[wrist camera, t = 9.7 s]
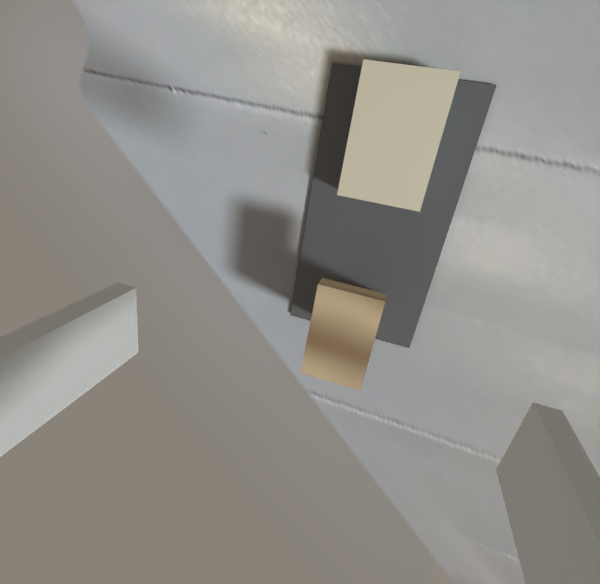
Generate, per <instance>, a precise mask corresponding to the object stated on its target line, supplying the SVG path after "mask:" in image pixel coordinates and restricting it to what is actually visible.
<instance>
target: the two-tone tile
mask: <svg viewBox="0 0 600 584" xmlns="http://www.w3.org/2000/svg"><path fill="white" fill-rule="evenodd" d="M459 76H460V71H452V70H444V69H436V68H428V67H421V66H413V65H405V64H397V63H389V62H381V61H373V60H366V59H363V64H362V69H361V74H360V79H359V84H358V89H357V94H356V100H355V105H354V110H353V115H352V120H351V125H350V130H349V136H348V141H347V146H346V151H345V156H344V161H343V167H342V172H341V177H340V182H339V187H338V192H337V195H339V196H344V197H349V198H354V199H359V200H364V201H369V202H374V203H379V204H384V205H389V206H394V207H398V208H403V209H408V210H413V211H418V212H420V210H421V206H422V203H423V199H424V196H425V193H426V189H427V186H428V182H429V179H430V175H431V172H432V168H433V165H434V162H435V158H436V155H437V151H438V148H439V144H440V141H441V138H442V134H443V131H444V127H445V124H446V120H447V117H448V114H449V110H450V107H451V103H452V100H453V96H454V93H455V89H456V86H457V83H458V79H459Z"/></svg>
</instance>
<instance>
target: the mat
mask: <svg viewBox="0 0 600 584" xmlns="http://www.w3.org/2000/svg"><path fill="white" fill-rule="evenodd" d="M361 69H362V67H359V66H352V65H344V64H337V63H332V68H331V74H330V80H329V86H328V92H327V98H326V104H325V110H324V116H323V122H322V128H321V134H320V140H319V146H318V152H317V158H316V164H315V170H314V176H313V182H312V188H311V194H310V200H309V206H308V212H307V218H306V224H305V230H304V236H303V242H302V248H301V254H300V260H299V266H298V272H297V278H296V284H295V290H294V296H293V302H292V308H291V314H290V315H292V316H296V317H299V318H303V319H307V320H310V321H311V317H312V312H313V307H314V301H315V296H316V291H317V286H318V283H319V282H320V280H321V279H322V278H325V279H329V280H333V281H337V282H341V283H345V284H349V285H353V286H357V287H361V288H365V289H369V290H373V291H377V292H381V293H385V294H387V295H386V301H385V305H384V308H383V312H382V315H381V319H380V323H379V326H378V330H377V333H376V337H375V339H379V340H382V341H386V342H389V343H393V344H397V345H400V346H404V347H407V348H409V347H410V344H411V341H412V338H413V335H414V332H415V329H416V326H417V323H418V320H419V317H420V314H421V311H422V308H423V305H424V302H425V299H426V296H427V293H428V290H429V287H430V284H431V281H432V278H433V275H434V272H435V269H436V266H437V263H438V260H439V257H440V254H441V250H442V247H443V244H444V241H445V238H446V235H447V232H448V229H449V226H450V223H451V220H452V217H453V214H454V211H455V208H456V205H457V202H458V199H459V196H460V193H461V190H462V187H463V184H464V181H465V178H466V175H467V172H468V169H469V166H470V163H471V160H472V157H473V154H474V151H475V148H476V145H477V142H478V139H479V136H480V133H481V130H482V127H483V124H484V121H485V118H486V115H487V112H488V109H489V106H490V103H491V100H492V97H493V94H494V91H495V88H496V85H494V84H486V83H479V82H471V81H464V80H458V83H457V86H456V89H455V93H454V96H453V100H452V103H451V107H450V110H449V114H448V117H447V120H446V124H445V127H444V131H443V134H442V138H441V141H440V144H439V148H438V151H437V155H436V158H435V162H434V165H433V168H432V172H431V175H430V179H429V182H428V186H427V189H426V193H425V196H424V199H423V203H422V206H421V210H420V212H418V211H413V210H408V209H403V208H398V207H394V206H389V205H384V204H379V203H374V202H369V201H364V200H359V199H354V198H349V197H344V196H339V195H337V192H338V187H339V182H340V177H341V172H342V167H343V161H344V156H345V151H346V146H347V141H348V136H349V130H350V125H351V120H352V115H353V110H354V105H355V100H356V94H357V89H358V84H359V79H360V74H361Z"/></svg>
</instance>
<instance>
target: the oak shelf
mask: <svg viewBox="0 0 600 584" xmlns="http://www.w3.org/2000/svg"><path fill="white" fill-rule="evenodd" d="M386 295H387V294H385V293H381V292H377V291H373V290H369V289H365V288H361V287H357V286H353V285H349V284H345V283H341V282H337V281H333V280H329V279H325V278H322V279H321V280H320V282H319V283H318V286H317V291H316V296H315V301H314V307H313V312H312V317H311V322H310V327H309V332H308V337H307V343H306V348H305V353H304V358H303V363H302V368H301V373H304V374H307V375H310V376H314V377H317V378H320V379H323V380H327V381H330V382H333V383H336V384H340V385H343V386H346V387H349V388H353V389H356V390H359V391H360V390H361V386H362V383H363V379H364V376H365V372H366V368H367V365H368V361H369V358H370V354H371V351H372V347H373V344H374V340H375V337H376V333H377V330H378V326H379V323H380V319H381V315H382V312H383V308H384V305H385V301H386Z"/></svg>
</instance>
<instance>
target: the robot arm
mask: <svg viewBox="0 0 600 584" xmlns="http://www.w3.org/2000/svg"><path fill="white" fill-rule="evenodd" d="M136 305H137V303H136V288H135V287H131V286H128V285H124V284H121V283H115V284H113V285H111V286H109V287H107V288H105V289H103V290H101V291H98V292H96V293H94V294H92V295H90V296H88V297H85V298H83V299H81V300H79V301H77V302H75V303H73V304H70V305H68V306H66V307H64V308H62V309H60V310H58V311H56V312H53V313H51V314H49V315H47V316H45V317H43V318H41V319H38V320H36V321H34V322H32V323H30V324H28V325H26V326H23V327H21V328H19V329H17V330H15V331H13V332H11V333H9V334H6V335H4V336H2V337H0V457H1V456H2V455H3V454H5V453H6V452H7V451H8V450H10V449H11V448H12V447H14V446H15V445H17V444H18V443H19V442H21V441H22V440H23V439H24V438H26V437H27V436H28V435H30V434H31V433H32V432H34V431H35V430H36V429H38V428H39V427H40V426H42V425H43V424H44V423H46V422H47V421H48V420H49V419H51V418H52V417H53V416H55V415H56V414H57V413H59V412H60V411H61V410H63V409H64V408H65V407H67V406H68V405H69V404H71V403H72V402H73V401H75V400H76V399H77V398H79V397H80V396H81V395H83V394H84V393H85V392H87V391H88V390H89V389H90V388H92V387H93V386H94V385H96V384H97V383H98V382H100V381H101V380H102V379H104V378H105V377H106V376H108V375H109V374H110V373H111V372H113V371H114V370H116V369H117V368H118V367H120V366H121V365H122V364H123V363H125V362H126V361H127V360H129V359H130V358H131V357H133V356H134V355H135V354H137V353H138V329H137V306H136ZM496 470H497V474H498V478H499V482H500V486H501V490H502V494H503V497H504V501H505V505H506V509H507V513H508V517H509V521H510V524H511V528H512V532H513V536H514V540H515V544H516V548H517V551H518V555H519V559H520V563H521V567H522V571H523V575H524V578H525V582H526V584H600V477H599V475H598V473H597V472H596V470H595V468H594V466H593V465H592V463H591V461H590V459H589V458H588V456H587V454H586V452H585V450H584V449H583V447H582V445H581V443H580V442H579V440H578V438H577V436H576V434H575V433H574V431H573V429H572V427H571V426H570V424H569V422H568V420H567V419H566V417H565V415H564V413H563V411H561V410H557V409H554V408H550V407H547V406H544V405H540V404H537V403H532V405H531V407H530V409H529V411H528V412H527V414H526V416H525V418H524V420H523V422H522V423H521V425H520V427H519V429H518V431H517V433H516V434H515V436H514V438H513V440H512V442H511V444H510V445H509V447H508V449H507V451H506V453H505V455H504V456H503V458H502V460H501V462H500V464H499V466H498V467H497V469H496Z"/></svg>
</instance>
